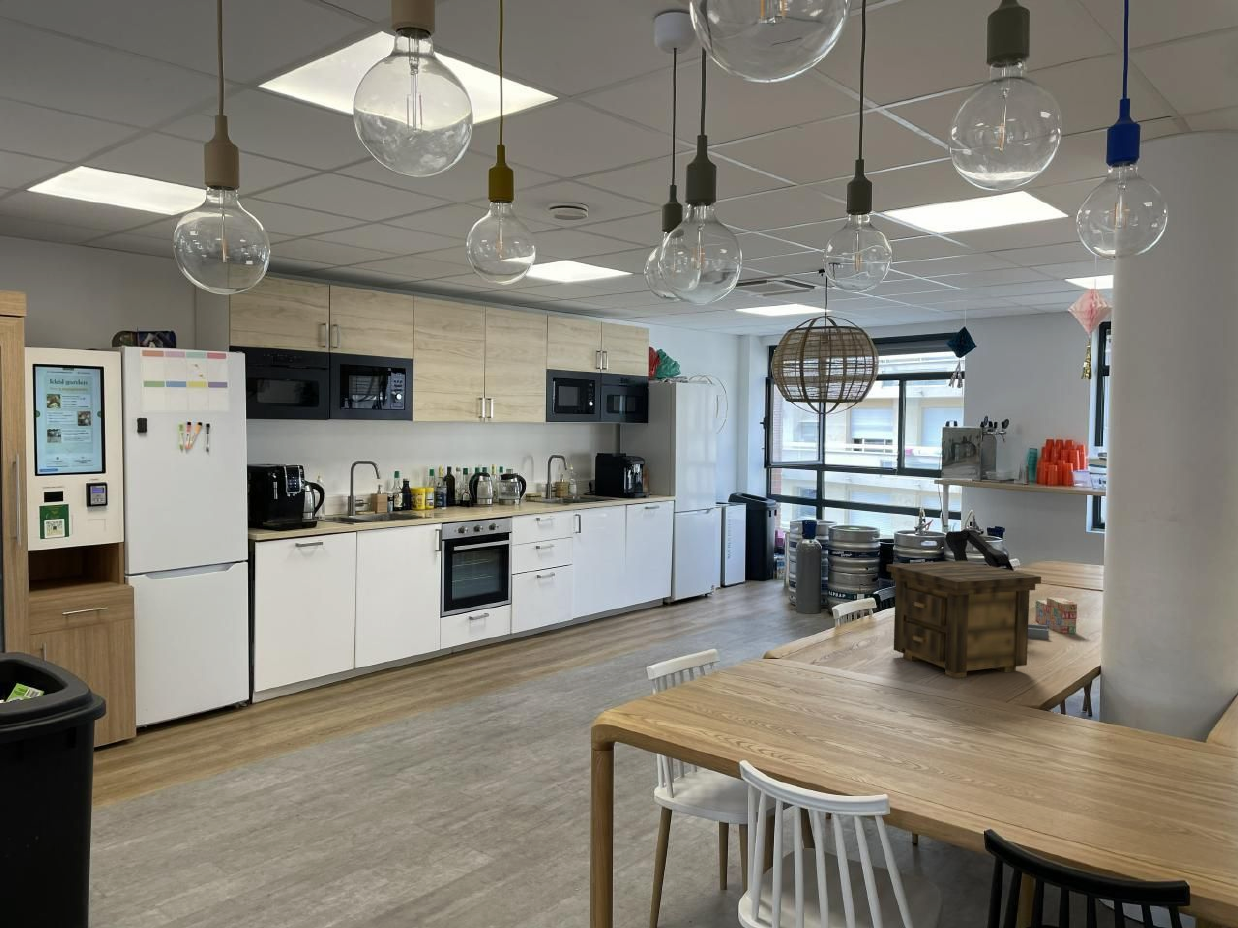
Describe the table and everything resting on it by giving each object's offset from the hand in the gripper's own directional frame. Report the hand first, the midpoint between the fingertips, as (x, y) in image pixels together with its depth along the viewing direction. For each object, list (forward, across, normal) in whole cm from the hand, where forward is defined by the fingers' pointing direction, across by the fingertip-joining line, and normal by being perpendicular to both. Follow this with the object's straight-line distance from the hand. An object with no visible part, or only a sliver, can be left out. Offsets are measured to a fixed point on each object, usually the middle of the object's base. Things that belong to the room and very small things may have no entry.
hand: (995, 622), depth 343 cm
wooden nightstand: (+4, -12, -59) cm, 60 cm away
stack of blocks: (+4, +23, +21) cm, 31 cm away
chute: (+4, +9, 0) cm, 10 cm away
